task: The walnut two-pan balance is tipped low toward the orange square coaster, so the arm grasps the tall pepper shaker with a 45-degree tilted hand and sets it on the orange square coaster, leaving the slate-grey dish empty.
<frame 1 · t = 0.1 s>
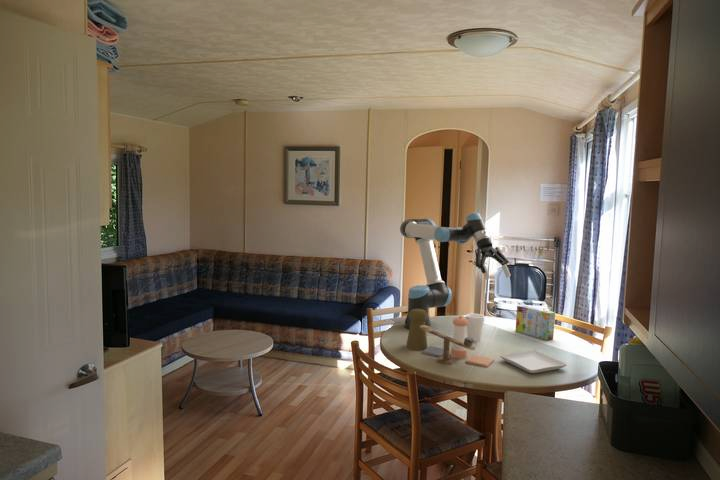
hand: (498, 277, 244), 36 cm above the table, tool tilted 35°, fingers open, 13 cm apart
pepper shaker: (416, 347, 245), on the table
snack box: (533, 335, 272), on the table
foam cup: (474, 340, 260), on the table
balance: (445, 361, 225), on the table
pepper shaker 2: (458, 356, 234), on the table
orange square coaster: (480, 361, 226), on the table
salad plate: (532, 366, 223), on the table
dish slate: (435, 352, 238), on the table
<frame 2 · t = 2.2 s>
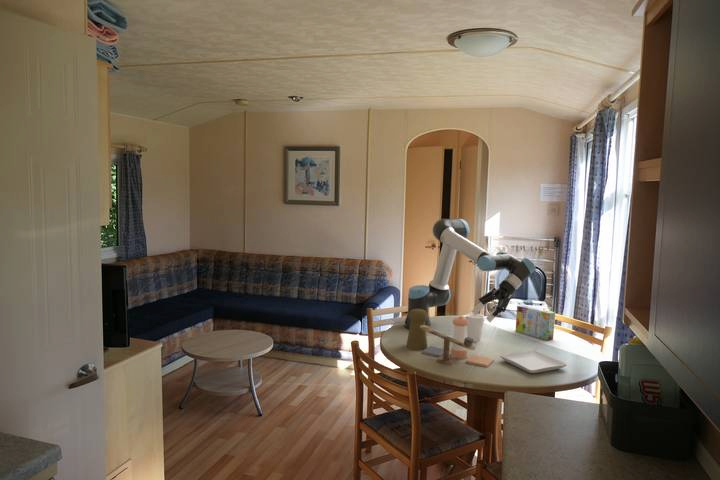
hand: (480, 316, 235), 19 cm above the table, tool tilted 45°, fingers open, 13 cm apart
nothing on the table moved.
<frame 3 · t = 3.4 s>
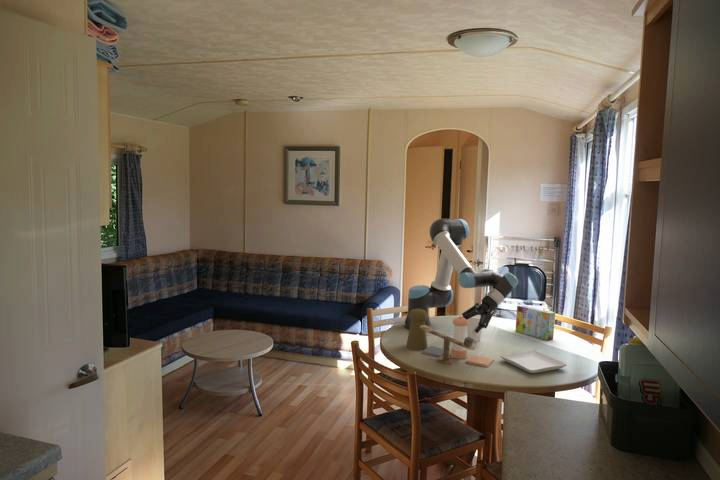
hand: (462, 332, 233), 11 cm above the table, tool tilted 45°, fingers open, 13 cm apart
nothing on the table moved.
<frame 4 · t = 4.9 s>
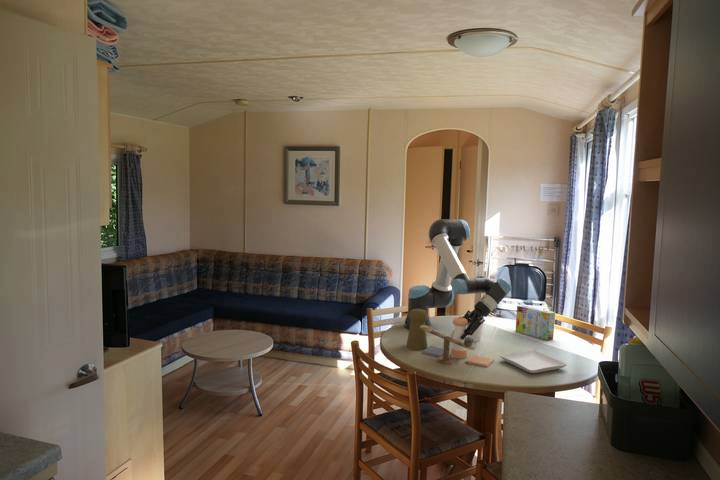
hand: (452, 341, 232), 7 cm above the table, tool tilted 45°, fingers closed on pepper shaker 2, 6 cm apart
pepper shaker 2: (458, 356, 234), on the table, touching gripper
everything else where it was.
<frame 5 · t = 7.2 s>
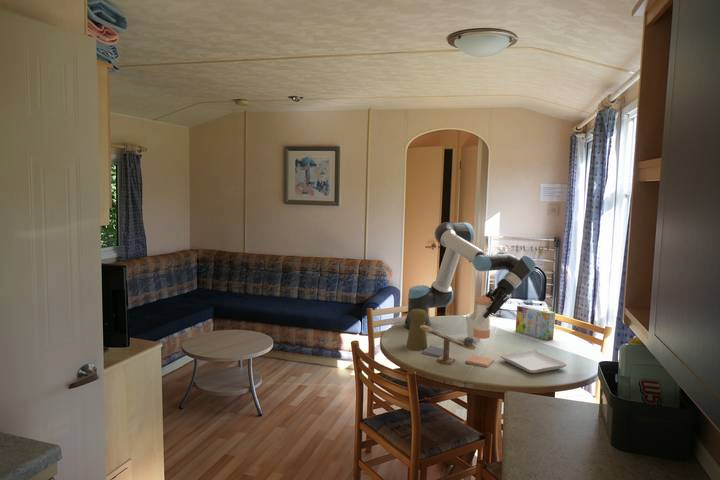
hand: (475, 320, 223), 20 cm above the table, tool tilted 45°, fingers closed on pepper shaker 2, 5 cm apart
pepper shaker 2: (481, 336, 225), point 12 cm above the table, touching gripper
everything else where it was.
when the fingers open (10 cm above the table, at t = 9.2 s): pepper shaker 2 stays where it is, resting on orange square coaster.
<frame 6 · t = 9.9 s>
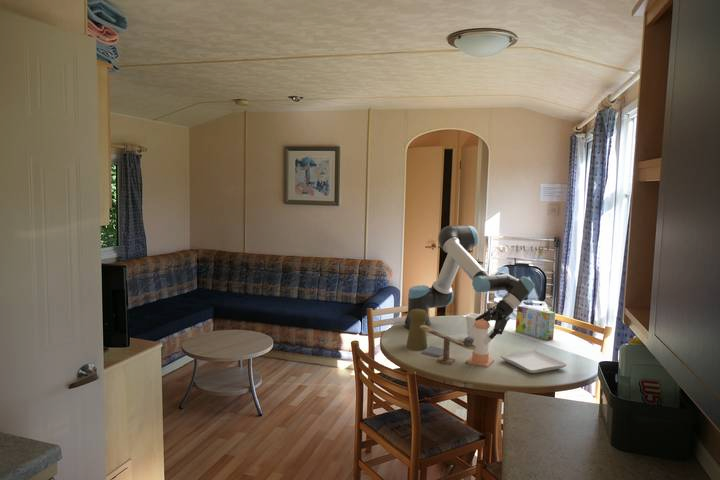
hand: (476, 338, 224), 11 cm above the table, tool tilted 45°, fingers open, 13 cm apart
pepper shaker 2: (480, 360, 226), point 1 cm above the table, touching orange square coaster
everything else where it was.
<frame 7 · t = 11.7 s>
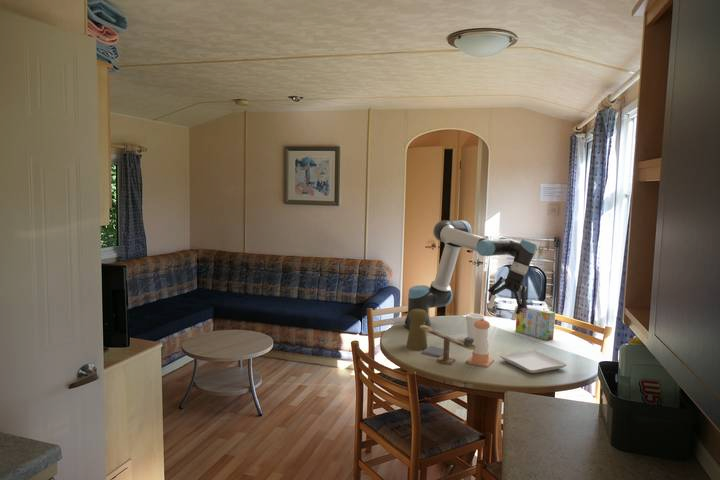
hand: (500, 313, 233), 21 cm above the table, tool tilted 20°, fingers open, 13 cm apart
nothing on the table moved.
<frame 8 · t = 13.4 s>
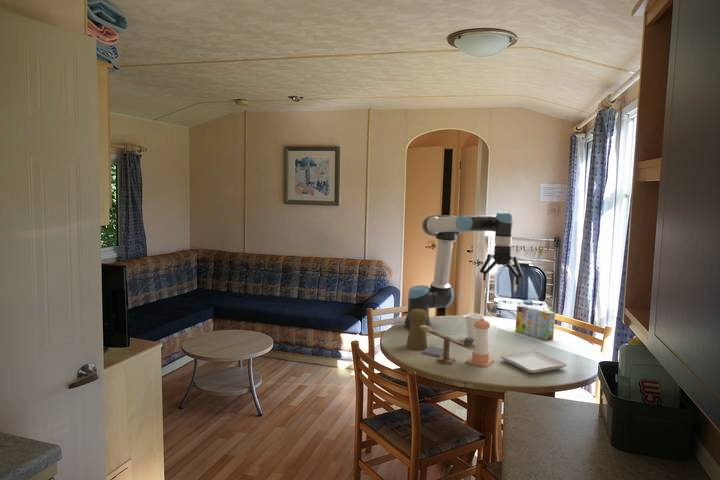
hand: (500, 289, 235), 32 cm above the table, tool pointing down, fingers open, 13 cm apart
nothing on the table moved.
at the end: pepper shaker 2 inside the target area on the orange square coaster (0.0 cm from its centre), point 0.8 cm above the orange square coaster's base; pepper shaker 2 tilted 0°; the gripper is holding nothing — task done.
